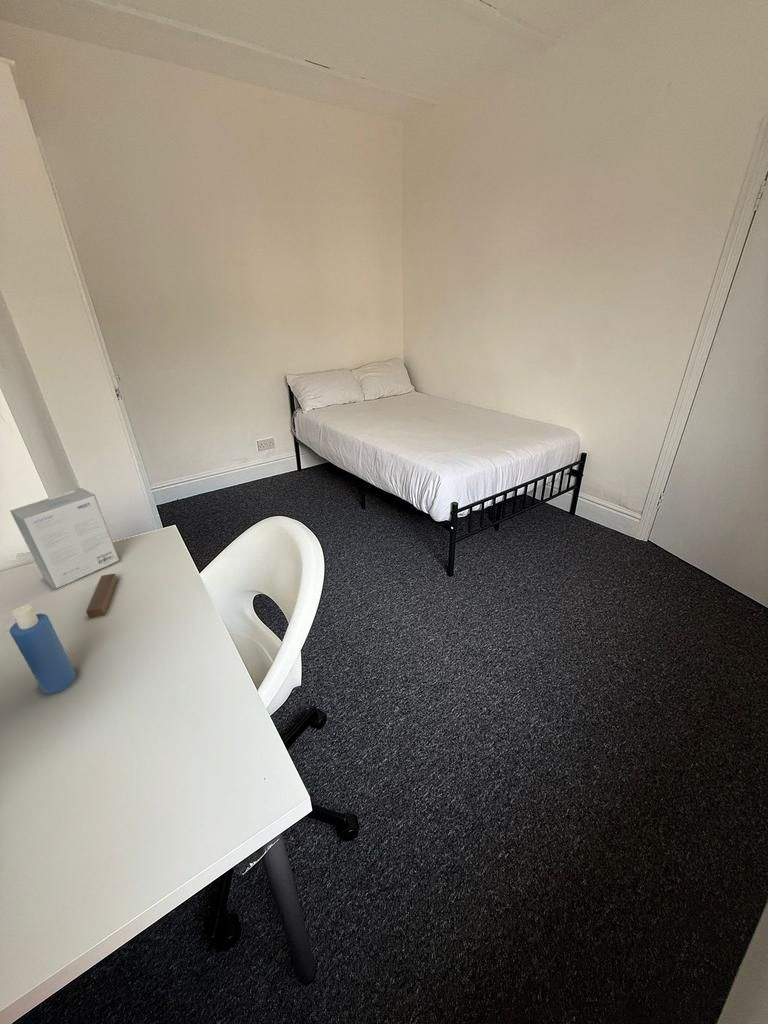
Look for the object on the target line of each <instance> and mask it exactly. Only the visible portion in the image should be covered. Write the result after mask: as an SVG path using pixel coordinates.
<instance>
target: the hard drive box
mask: <svg viewBox="0 0 768 1024" xmlns="http://www.w3.org/2000/svg"><path fill="white" fill-rule="evenodd" d="M9 513H10V514H11V516H12V518H13V520H14V522H15V524H16V527H17V528H18V530H19V532H20V534H21V537H22V538H23V540H24V542H25V544H26V546H27V549H28V550H29V552H30V554H31V556H32V559H33V561H34V562H35V564H36V566H37V568H38V570H39V572H40V574H41V577H42V578H43V580H44V581H45V582H46V583H47V584H48V585H49V586H50V587H52V588H53V589H54V590H56V589H59V588H60V587H63V586H65V585H67V584H70V583H72V582H75V581H77V580H79V579H80V578H81V579H82V578H83V577H85V576H88V575H90V574H92V573H94V572H97V571H99V570H101V569H104V568H106V567H108V566H110V565H113V564H115V563H117V562H119V561H120V557H119V554H118V553H117V549H116V548H115V545H114V543H113V540H112V537H111V534H110V532H109V530H108V526H107V524H106V521H105V518H104V516H103V513H102V511H101V508H100V505H99V502H98V500H97V497H96V494H95V493H92V492H90V491H88V490H87V489H85V488H83V487H80V488H76V489H73V490H69V491H67V492H63V493H61V494H57V495H54V496H50V497H48V498H45V499H41V500H39V501H36V502H32V503H29V504H26V505H23V506H20V507H17V508H14V509H11V510H9Z"/></svg>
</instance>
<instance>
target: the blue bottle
mask: <svg viewBox="0 0 768 1024" xmlns="http://www.w3.org/2000/svg"><path fill="white" fill-rule="evenodd" d="M11 615H12V617H13V619H14V621H15V622H14V623H13V624H12V625H11V627H9V633H10V635H11V637H12V639H13V641H14V642H15V645H16V646H17V648H18V650H19V652H20V653H21V655H22V657H23V658H24V660H25V662H26V664H27V666H28V667H29V670H30V671H31V673H32V674H33V676H34V678H35V680H36V682H37V683H38V686H39V687H40V689H41V691H42V692H43V693H44V694H47V695H48V694H50V695H51V694H56V693H59V692H62V691H63V690H65V689H68V687H70V686H71V685H72V684H73V683H74V682H75V680H76V678H77V673H76V671H75V669H74V667H73V665H72V663H71V661H70V659H69V656H68V654H67V652H66V650H65V648H64V646H63V644H62V643H61V640H60V639H59V636H58V634H57V632H56V629H55V628H54V626H53V624H52V622H51V620H50V618H49V616H48V615H47V614H45V613H36V612H35V610H34V608H33V606H32V605H30V604H24V605H22V606H19V607H17V608H15V609H14V610H13V611H12V612H11Z"/></svg>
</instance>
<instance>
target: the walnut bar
mask: <svg viewBox="0 0 768 1024" xmlns="http://www.w3.org/2000/svg"><path fill="white" fill-rule="evenodd" d="M116 575H117V574H116V573H110V574H104V575H101V576H100V578H99V580H98V582H97V585H96V587H95V589H94V592H93V595H92V597H91V599H90V600H89V601H90V602H89V603H88V606H87V607H86V611H85V612H86V614H87V617H88V618H89V619H91V618H97V617H102V616H105V614H106V611H107V609H108V606H109V603H110V601H111V599H112V595H113V592H114V590H115V587H116V585H117V582H118V578H117V576H116Z"/></svg>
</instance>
